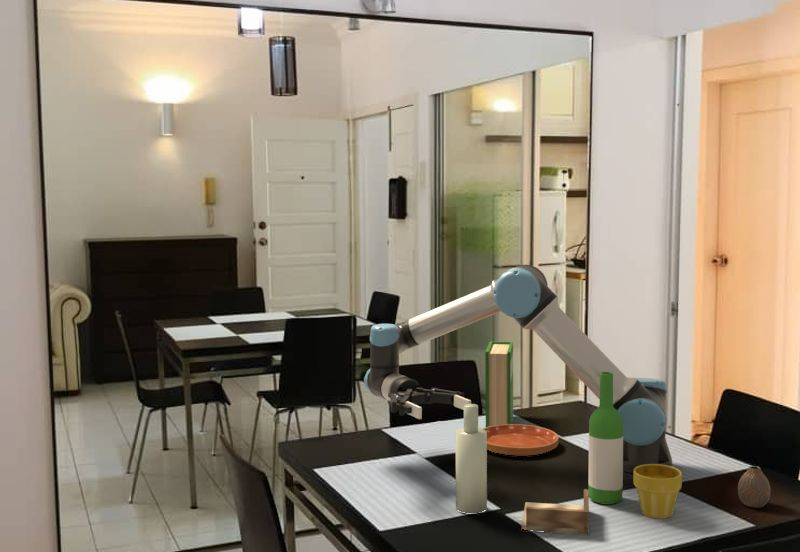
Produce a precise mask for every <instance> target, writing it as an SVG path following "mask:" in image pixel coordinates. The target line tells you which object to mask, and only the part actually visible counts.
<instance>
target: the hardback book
mask: <svg viewBox="0 0 800 552" xmlns="http://www.w3.org/2000/svg"><path fill="white" fill-rule="evenodd" d="M484 353H485V354H484V356H485V357H484V358H485V363H484V365H485V367H484V368H485V369H484V370H485V371H484V372H485V374H484V375H485V382H484V383H485V428H486V427H490V426H495V425H504V424H513V420H514V419H513V418H514V341H489V342H488V344H487V347H486V349H485V352H484ZM512 419H513V420H512Z"/></svg>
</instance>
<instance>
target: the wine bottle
mask: <svg viewBox="0 0 800 552" xmlns="http://www.w3.org/2000/svg"><path fill="white" fill-rule="evenodd" d="M623 475H624V471H623V420H622V417H621V415H620V413H619V412H618V411H617V410H616V409H615V408H614V407H613V373H611V372H601V373H600V399H599V405H598V407H597V408H596V409H594V411H593V412H592V413H591V414H590V417H589V421H588V496H589V500H591V501H593V502H595V503H597V504H601V505H613V504H614V505H615V504H617V503H620V502H621V501H622V500H623V490H624V489H623V485H624V483H623V482H624V481H623V480H624V476H623Z"/></svg>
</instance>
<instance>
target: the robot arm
mask: <svg viewBox="0 0 800 552" xmlns="http://www.w3.org/2000/svg"><path fill="white" fill-rule="evenodd" d="M501 312H502V313H503V314H504V315H506V316H508V317H510V318H512V319H513V320H515V321H516V322H517V324H518V325H519V326H521V328H522V329H523V330H531V331H534V332H535V334H537V336H539V338H540V339H542V341H543V342H544V343H545V344H546V345H547V346H548V347H549V348H550V350H551V351H553V352H554V353H555V354H556V355H557V356H558V358H559V359H560V360H561V361H562V362H563V363H564V364H565V365H566V366H567V367H568V368H569V369H570V370H571V372H573V373H574V374H575V376H576V377H578V379H579V380H580V381H582V383H583V384H584V385H585V386H586V387H587V388H588V389H589V390H590V391H591V392H592V393H593V394H594V396H596V397H597V399H598V400H600V373H601V372H611V373H613V407H614V408H615V409H616V410H617V411H618V412H619V413H620V415H621V417H622V420H623V472H627V473H631V474H633V470H634V468H635V467H637V466H640V465H644V464H662V465H668V466H672V467H673V458H672V455H671V452H670V448H669V445H668V443H667V438H666V430H667V429H666V426H667V393H668V390H667V383H666V382H665V381H664V380H662V379H659V378H649V377H628V376H626V375H625V374H624V373H623V372H622V371H621V370H620V369H619V367H617V366H616V364H614V363H613V361H611V359H610V358H609V357H608V356H607V355H606V354H605V353H604V352H603V351H602V350H601V349H600V348H599V347H598V345H596V344H595V342H593V341H592V340H591V338H590V337H588V335H587V334H586V333H584V331H583V330H582V329H581V328H580V327H579V326H578V325H577V324H576V323H575V322H574V321H573V320H572V319H571V318H570V317H569V316H568V315H567V314H566V312H565V311H563V309H561V307H560V306H559V297H558V295H556V294H555V293H554V291H553V290H552V289H551V288H550V287H549V286H548V281H547V278H546V276H545V274H544V273H543V271H541V270H540V269H539V268H538V267H536V266H534V265H531V264H520V265H517V266H514V267H512V268H510V269H507V270H505V271H504V272H503V273H502V274H501V275H500V277H497V278H494V279H493V280H492V282H491V284H490V285H487V286H486V287H482V288H481V289H478V290H475V291H474V292H471V293H469V294H466V295H464V296H461V297H459V298H457V299H454V300H452V301H449V302H447V303H445V304H443V305H440V306H438V307H435V308H433V309H431V310H428V311H426V312H423V313H421V314H418V315H417V316H413V317H412V318H410V319H407V320H405V321H402V322H399V323H396V324H393V323H378V324H373V325H372V326H371V328H370V335H369V344H370V346H369V347H370V352H369V353H370V355H369V356H370V366H369V367H370V368H369V369H368V370H367V371H366V373H365V376H364V377H363V383H364V386H365V388H366V390H367V391H369V393H371V394H373V396H376V397H378V398H381V399H383V400H386V401H387V404H389V405H390V410H391V413H393V414H394V413H397V412H399V416H405V414H407V415H409V416H411V417H414V418H415V419H418V420H422V419H423V418H422V415H423V413H422V411H423V408H422V406H419V405H432V404H433V403H434V404H442V405H443V404H446V405H453V406H454V407H455V408H458V409H460V410H463V411H464V405H466V404H472V400H471V399H468V398H465V392H460V391H454V390H448V389H442V388H437V387H431V389H428V388H427V389H426V388H423V387H422V386H421V385H420V383H419V382H418V381H417V380H416V379H412V378H410V377H408V376H406V375H402V374H400V373H399V366H400V365H399V364H400V363H399V355H401V354H402V353H403V352H405V351H408V350H410V349H412V348H414V347H418V346H419V345H421V344H424V343H426V342H429V341H431V340H433V339H436V338H438V337H441V336H444V335H446V334H448V333H450V332H451V333H452V332H453V331H456V330H459V329H461V328H464V327H466V326H468V325H470V324H474V323H476V322H478V321H480V320H483V319H486V318H489V317H491V316H493V315H496V314H498V313H501ZM428 399H429V400H428Z"/></svg>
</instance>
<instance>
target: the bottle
mask: <svg viewBox="0 0 800 552" xmlns="http://www.w3.org/2000/svg"><path fill="white" fill-rule="evenodd" d="M454 435H455V509H456V508H457V510H459V511H461V512H465V513H479V512H482V511H484V510H486V509H487V510H488V483H487V482H488V475H487V474H488V473H487V471H488V469H487V468H488V466H487V465H488V464H487V463H488V460H487V459H488V455H487V454H488V452H487V451H488V450H487V432H486V430H484V429H483V428H479V405H478V404H476V403H471V404H466V405H464V410H463V427H461V428H457V429H456V430H455V433H454ZM457 510H456V511H457Z"/></svg>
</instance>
